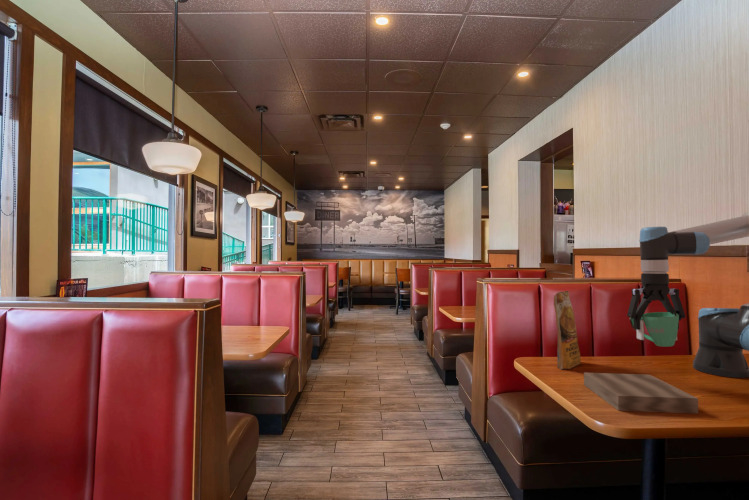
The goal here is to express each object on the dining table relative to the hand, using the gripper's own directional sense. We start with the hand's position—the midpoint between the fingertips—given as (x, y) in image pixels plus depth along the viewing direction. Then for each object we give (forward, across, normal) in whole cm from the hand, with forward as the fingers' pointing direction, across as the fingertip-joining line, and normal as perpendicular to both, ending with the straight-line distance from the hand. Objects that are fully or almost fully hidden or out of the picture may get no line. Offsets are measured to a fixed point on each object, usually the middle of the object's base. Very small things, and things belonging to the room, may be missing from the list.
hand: (656, 339), depth 125 cm
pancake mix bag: (+14, +23, -16) cm, 31 cm away
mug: (+2, 0, 0) cm, 2 cm away
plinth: (+14, +17, +17) cm, 27 cm away
